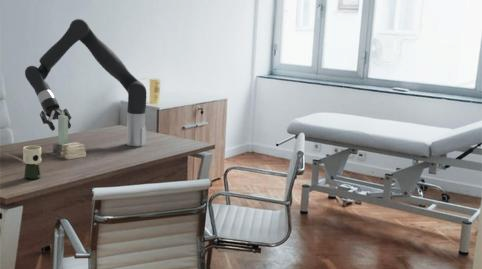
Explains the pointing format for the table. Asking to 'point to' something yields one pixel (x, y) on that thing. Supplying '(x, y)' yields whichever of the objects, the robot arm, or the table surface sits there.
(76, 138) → the table surface
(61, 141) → the slat
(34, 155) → the character mug
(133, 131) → the robot arm
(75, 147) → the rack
